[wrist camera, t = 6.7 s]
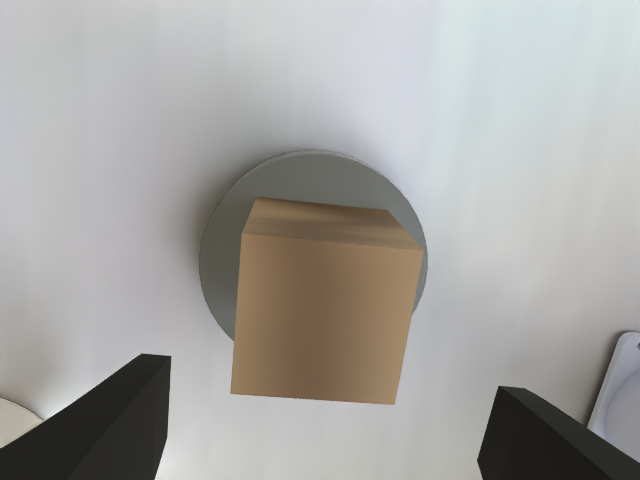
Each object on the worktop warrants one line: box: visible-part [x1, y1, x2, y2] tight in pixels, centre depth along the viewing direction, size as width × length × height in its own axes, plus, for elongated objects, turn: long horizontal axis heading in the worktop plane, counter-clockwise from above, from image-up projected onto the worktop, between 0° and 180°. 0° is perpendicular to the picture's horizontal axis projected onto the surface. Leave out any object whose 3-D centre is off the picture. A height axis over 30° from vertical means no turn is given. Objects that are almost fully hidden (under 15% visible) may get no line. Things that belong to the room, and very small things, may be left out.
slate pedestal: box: [199, 150, 428, 341], centre depth 19 cm, size 9×9×2 cm
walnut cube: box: [231, 197, 424, 405], centre depth 15 cm, size 5×5×5 cm
